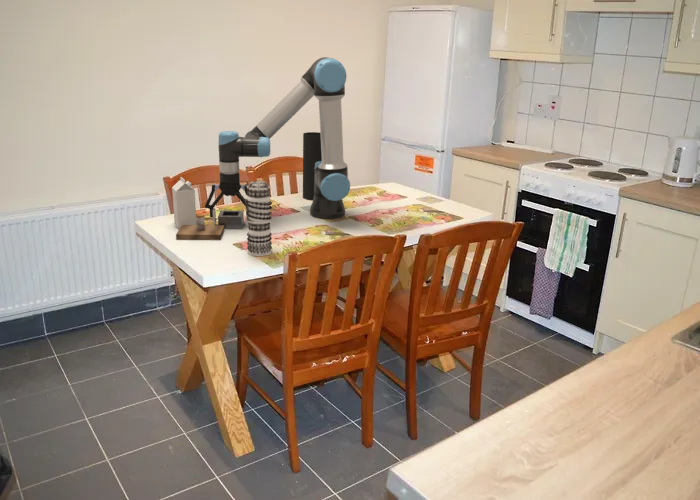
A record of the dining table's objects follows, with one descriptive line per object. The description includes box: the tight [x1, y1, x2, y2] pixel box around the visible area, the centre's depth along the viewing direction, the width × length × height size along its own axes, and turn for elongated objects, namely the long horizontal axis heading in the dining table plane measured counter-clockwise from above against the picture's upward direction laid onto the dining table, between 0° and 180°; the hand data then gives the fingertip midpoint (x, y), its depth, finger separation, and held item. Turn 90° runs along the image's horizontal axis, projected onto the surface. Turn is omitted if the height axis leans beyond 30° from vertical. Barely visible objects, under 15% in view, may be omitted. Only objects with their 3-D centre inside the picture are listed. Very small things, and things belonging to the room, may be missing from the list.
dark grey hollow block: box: [217, 209, 245, 230], centre depth 241 cm, size 9×9×5 cm
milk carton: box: [171, 176, 197, 230], centre depth 236 cm, size 7×7×19 cm
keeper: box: [175, 212, 225, 241], centre depth 228 cm, size 16×12×8 cm
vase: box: [302, 131, 322, 201], centre depth 283 cm, size 10×10×30 cm
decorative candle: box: [245, 180, 273, 257], centre depth 209 cm, size 9×9×25 cm
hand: (231, 225), depth 241 cm, fingers open, 12 cm apart
